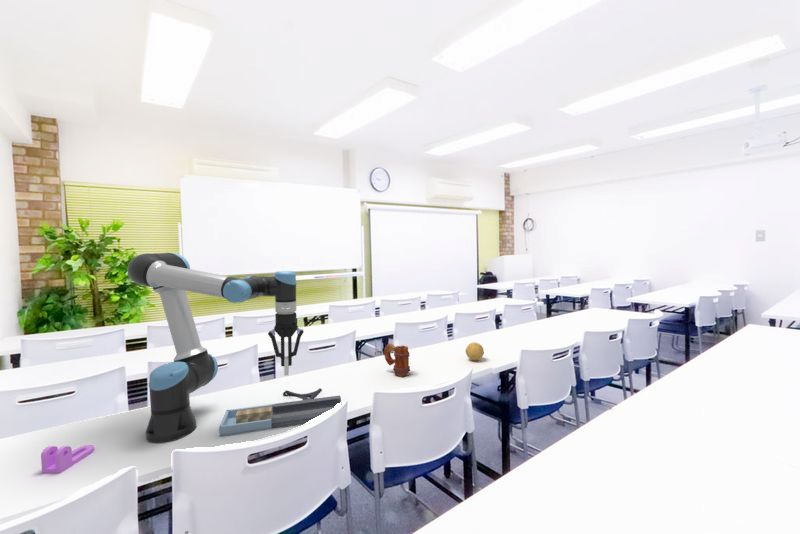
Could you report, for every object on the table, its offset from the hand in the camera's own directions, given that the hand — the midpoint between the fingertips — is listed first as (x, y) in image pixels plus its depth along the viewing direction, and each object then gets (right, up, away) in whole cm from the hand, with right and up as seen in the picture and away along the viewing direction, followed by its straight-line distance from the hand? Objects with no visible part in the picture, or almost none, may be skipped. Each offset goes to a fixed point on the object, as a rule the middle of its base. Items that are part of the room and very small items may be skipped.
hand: (286, 374), depth 137 cm
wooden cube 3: (-7, -17, -2) cm, 18 cm away
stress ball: (+85, -12, +66) cm, 109 cm away
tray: (-13, -17, -3) cm, 22 cm away
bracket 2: (-1, -17, +21) cm, 27 cm away
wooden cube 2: (-11, -17, -3) cm, 20 cm away
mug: (+42, -14, +47) cm, 64 cm away
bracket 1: (-59, -20, -25) cm, 67 cm away
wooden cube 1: (-15, -17, -4) cm, 23 cm away
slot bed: (+8, -17, +3) cm, 18 cm away
